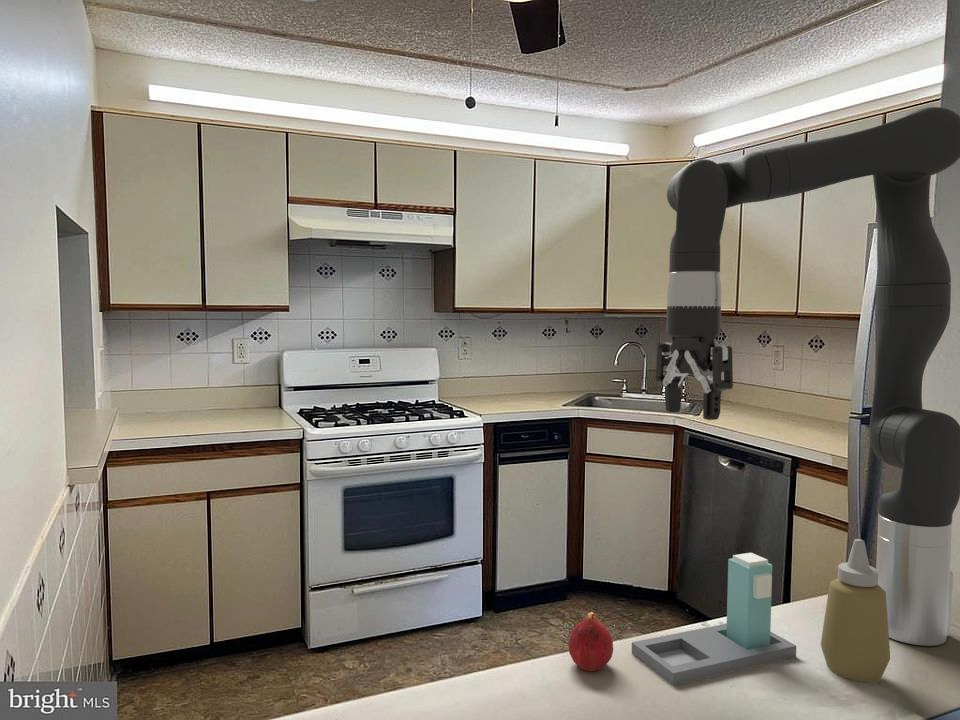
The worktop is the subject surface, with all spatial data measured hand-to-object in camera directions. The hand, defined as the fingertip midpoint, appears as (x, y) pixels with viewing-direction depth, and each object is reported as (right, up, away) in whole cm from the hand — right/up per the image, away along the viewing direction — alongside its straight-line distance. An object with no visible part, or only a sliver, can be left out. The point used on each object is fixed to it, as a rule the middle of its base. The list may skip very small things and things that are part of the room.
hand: (691, 415), depth 105 cm
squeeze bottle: (+18, -33, -12) cm, 39 cm away
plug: (+6, -32, -6) cm, 33 cm away
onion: (-16, -33, -11) cm, 38 cm away
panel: (+1, -33, -8) cm, 34 cm away
